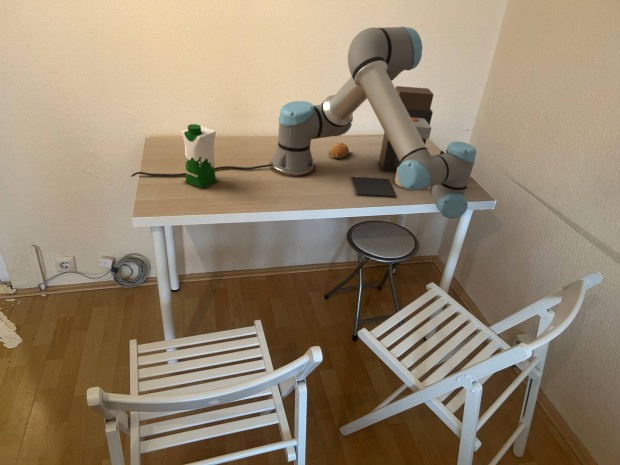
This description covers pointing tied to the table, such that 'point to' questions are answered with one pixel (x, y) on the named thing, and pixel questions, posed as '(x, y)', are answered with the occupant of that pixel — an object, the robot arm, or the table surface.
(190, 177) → the milk carton
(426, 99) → the coffee maker
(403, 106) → the robot arm
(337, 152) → the pastry
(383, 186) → the rubber mat
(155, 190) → the table surface
